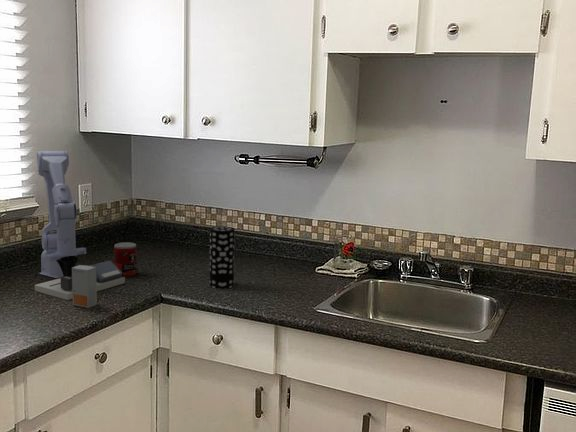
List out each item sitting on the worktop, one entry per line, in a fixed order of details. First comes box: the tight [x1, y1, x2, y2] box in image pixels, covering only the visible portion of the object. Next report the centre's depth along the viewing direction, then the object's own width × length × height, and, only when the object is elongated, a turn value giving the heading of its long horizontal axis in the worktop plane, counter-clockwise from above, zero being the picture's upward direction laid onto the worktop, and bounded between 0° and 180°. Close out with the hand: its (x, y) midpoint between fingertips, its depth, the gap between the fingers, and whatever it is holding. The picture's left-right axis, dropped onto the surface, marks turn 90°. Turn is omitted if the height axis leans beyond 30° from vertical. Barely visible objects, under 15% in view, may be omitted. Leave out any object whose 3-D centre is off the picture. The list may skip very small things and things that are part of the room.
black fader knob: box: [60, 276, 72, 290], centre depth 197 cm, size 4×2×4 cm
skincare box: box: [72, 264, 98, 309], centre depth 188 cm, size 6×4×12 cm
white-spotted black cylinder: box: [209, 225, 235, 290], centre depth 212 cm, size 8×8×20 cm
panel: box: [34, 276, 126, 301], centre depth 207 cm, size 16×24×4 cm, turn 148°
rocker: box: [89, 260, 122, 282], centre depth 211 cm, size 7×9×2 cm
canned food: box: [113, 241, 138, 278], centre depth 223 cm, size 8×8×11 cm
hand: (67, 278), depth 206 cm, fingers closed
